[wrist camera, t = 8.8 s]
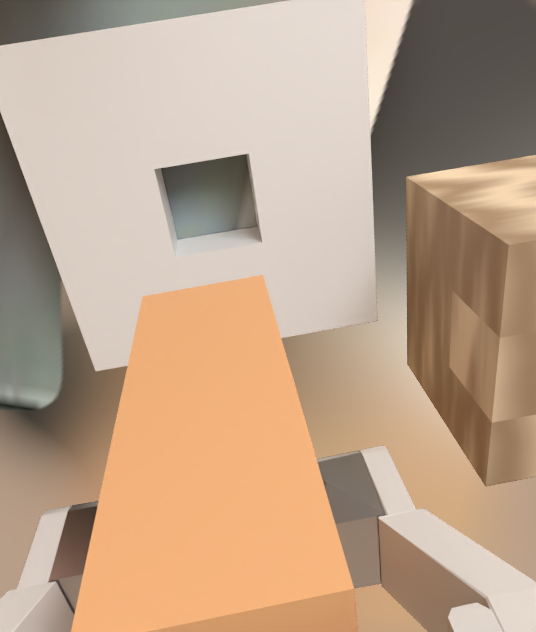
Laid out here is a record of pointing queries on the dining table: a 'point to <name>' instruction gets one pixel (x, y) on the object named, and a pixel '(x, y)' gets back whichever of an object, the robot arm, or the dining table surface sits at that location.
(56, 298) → the dining table surface
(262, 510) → the peg
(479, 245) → the notched wooden cube
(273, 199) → the socket plate
